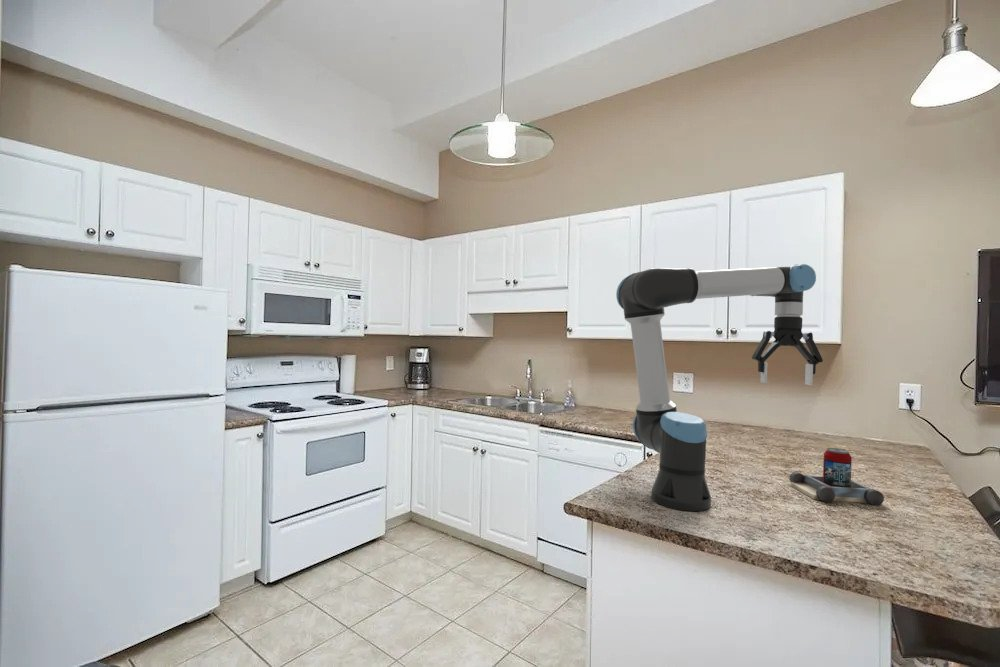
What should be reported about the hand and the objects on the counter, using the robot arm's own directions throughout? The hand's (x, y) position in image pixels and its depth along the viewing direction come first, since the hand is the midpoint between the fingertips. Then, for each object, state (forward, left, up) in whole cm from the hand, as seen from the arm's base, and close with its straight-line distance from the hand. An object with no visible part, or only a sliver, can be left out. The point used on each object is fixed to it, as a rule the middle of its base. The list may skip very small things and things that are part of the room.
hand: (786, 383), depth 147 cm
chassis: (+11, -7, -32) cm, 34 cm away
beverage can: (+12, -7, -31) cm, 34 cm away
